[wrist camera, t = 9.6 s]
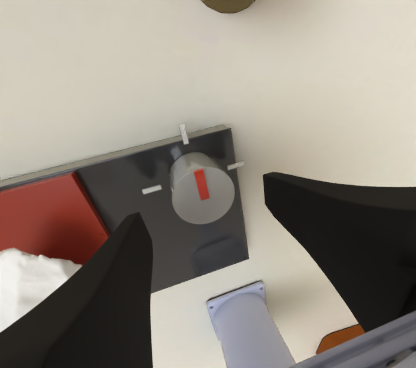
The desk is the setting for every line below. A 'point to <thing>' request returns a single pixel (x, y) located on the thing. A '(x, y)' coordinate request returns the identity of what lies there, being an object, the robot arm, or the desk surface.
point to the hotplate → (51, 219)
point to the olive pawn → (228, 5)
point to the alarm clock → (340, 338)
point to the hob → (162, 202)
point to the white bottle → (28, 282)
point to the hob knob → (200, 188)
